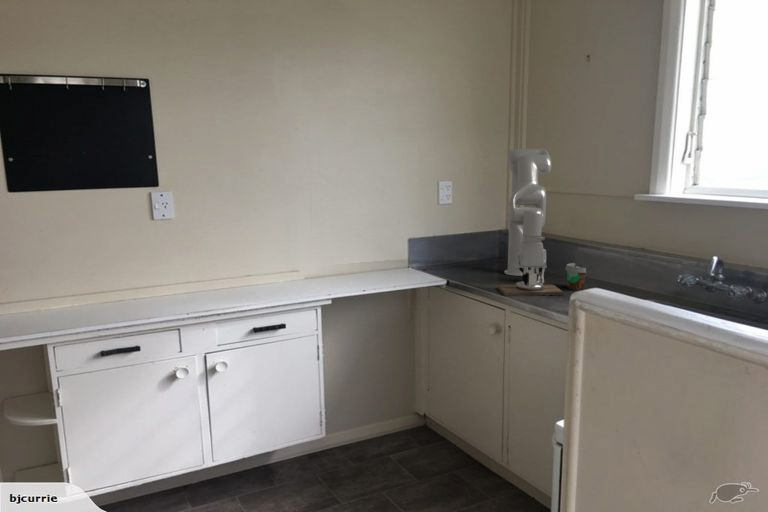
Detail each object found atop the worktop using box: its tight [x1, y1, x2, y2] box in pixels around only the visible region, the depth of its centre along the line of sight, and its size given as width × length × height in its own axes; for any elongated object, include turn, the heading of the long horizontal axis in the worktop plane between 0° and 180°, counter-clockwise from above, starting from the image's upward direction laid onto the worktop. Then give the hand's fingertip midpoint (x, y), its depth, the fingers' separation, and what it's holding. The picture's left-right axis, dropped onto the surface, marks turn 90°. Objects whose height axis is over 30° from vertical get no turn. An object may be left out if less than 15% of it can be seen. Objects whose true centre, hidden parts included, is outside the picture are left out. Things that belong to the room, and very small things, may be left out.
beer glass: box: [530, 248, 547, 284], centre depth 273 cm, size 7×7×15 cm
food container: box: [565, 262, 587, 291], centre depth 261 cm, size 12×6×10 cm, turn 5°
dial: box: [516, 269, 545, 290], centre depth 255 cm, size 11×11×7 cm
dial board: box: [496, 283, 565, 297], centre depth 255 cm, size 15×24×2 cm, turn 91°
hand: (529, 282), depth 255 cm, fingers open, 3 cm apart
